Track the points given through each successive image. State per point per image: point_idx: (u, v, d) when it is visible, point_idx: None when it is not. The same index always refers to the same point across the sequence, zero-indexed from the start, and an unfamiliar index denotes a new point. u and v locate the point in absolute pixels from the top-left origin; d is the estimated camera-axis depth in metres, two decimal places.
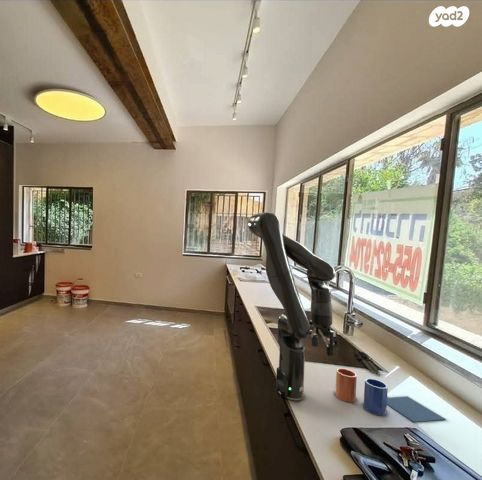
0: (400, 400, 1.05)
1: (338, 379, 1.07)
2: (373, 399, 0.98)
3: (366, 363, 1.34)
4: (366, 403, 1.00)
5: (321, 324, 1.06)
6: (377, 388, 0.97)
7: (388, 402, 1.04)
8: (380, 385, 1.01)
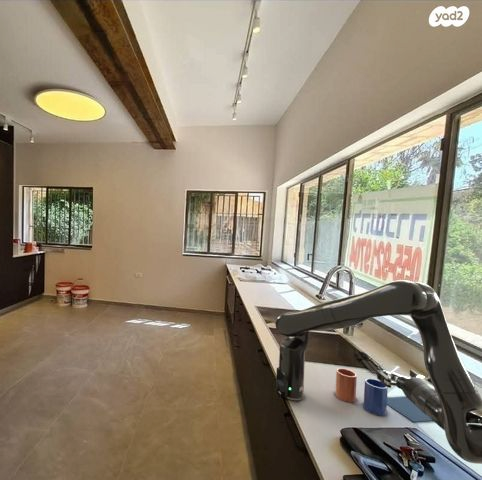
0: (400, 400, 1.05)
1: (338, 379, 1.07)
2: (373, 399, 0.98)
3: (366, 363, 1.34)
4: (366, 403, 1.00)
5: (407, 381, 0.77)
6: (377, 388, 0.97)
7: (388, 402, 1.04)
8: (380, 385, 1.01)
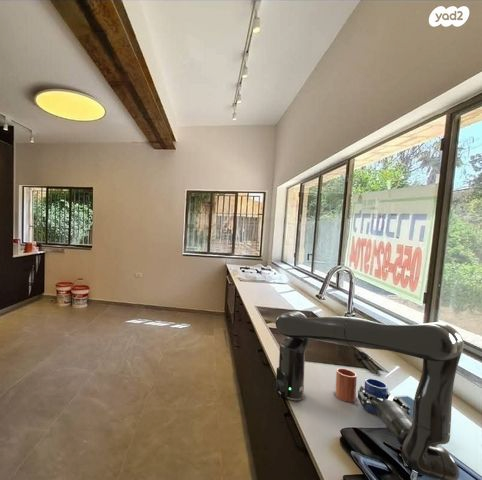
0: None
1: (338, 379, 1.07)
2: None
3: (366, 363, 1.34)
4: None
5: (379, 402, 0.91)
6: (377, 388, 0.97)
7: None
8: (380, 385, 1.01)
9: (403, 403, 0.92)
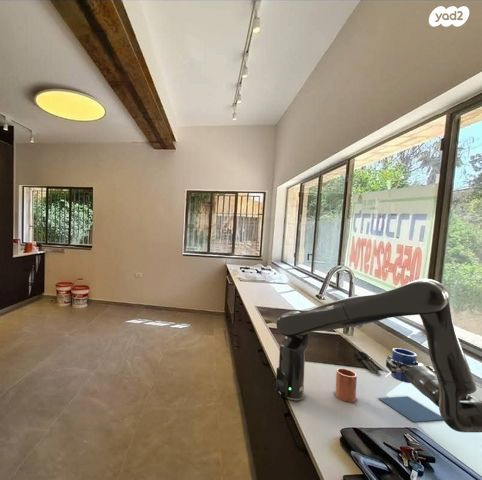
0: (400, 400, 1.05)
1: (338, 379, 1.07)
2: None
3: (366, 363, 1.34)
4: None
5: (410, 368, 0.91)
6: (406, 356, 0.97)
7: (388, 402, 1.04)
8: (408, 354, 1.01)
9: (433, 369, 0.92)
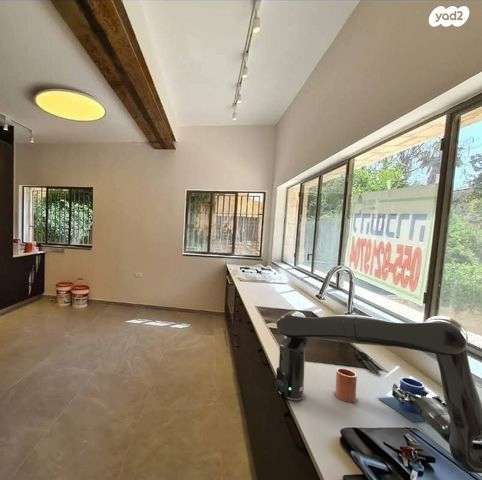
0: None
1: (338, 379, 1.07)
2: None
3: (366, 363, 1.34)
4: None
5: (418, 399, 0.91)
6: (414, 387, 0.97)
7: (388, 402, 1.04)
8: (416, 384, 1.01)
9: (443, 401, 0.93)
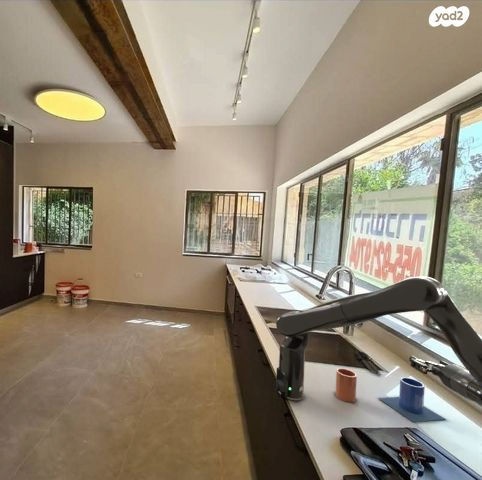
0: None
1: (338, 379, 1.07)
2: (409, 398, 0.98)
3: (366, 363, 1.34)
4: (402, 402, 1.00)
5: (444, 367, 0.81)
6: (414, 387, 0.97)
7: (388, 402, 1.04)
8: (416, 384, 1.01)
9: None
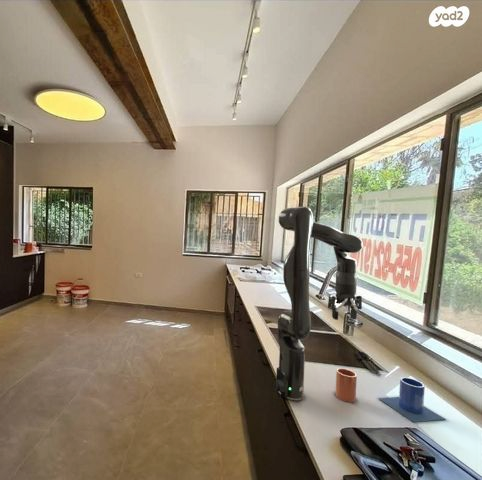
0: None
1: (338, 379, 1.07)
2: (409, 398, 0.98)
3: (366, 363, 1.34)
4: (402, 402, 1.00)
5: (335, 290, 1.18)
6: (414, 387, 0.97)
7: (388, 402, 1.04)
8: (416, 384, 1.01)
9: None
